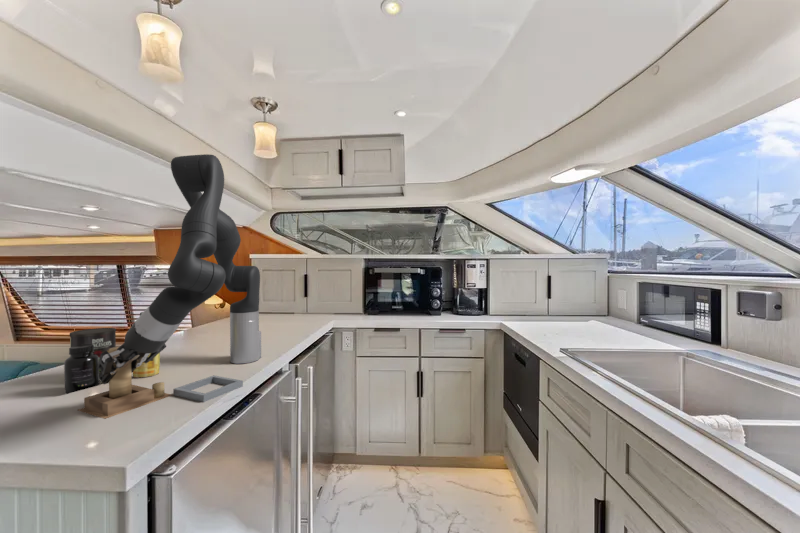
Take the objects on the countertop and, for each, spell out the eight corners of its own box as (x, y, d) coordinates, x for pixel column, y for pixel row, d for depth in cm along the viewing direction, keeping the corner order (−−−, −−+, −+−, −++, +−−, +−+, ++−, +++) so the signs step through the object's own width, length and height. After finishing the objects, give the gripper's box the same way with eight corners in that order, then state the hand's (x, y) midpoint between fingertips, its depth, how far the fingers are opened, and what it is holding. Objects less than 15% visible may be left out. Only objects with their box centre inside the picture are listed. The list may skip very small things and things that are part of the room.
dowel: (125, 399, 80) (125, 345, 80) (135, 402, 78) (135, 346, 78) (105, 406, 76) (104, 349, 76) (115, 409, 75) (114, 350, 75)
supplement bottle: (64, 390, 90) (64, 345, 90) (98, 384, 95) (98, 341, 95) (64, 397, 86) (63, 350, 86) (100, 390, 90) (99, 345, 90)
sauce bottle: (128, 384, 95) (127, 314, 95) (139, 377, 101) (138, 311, 101) (155, 382, 96) (154, 313, 96) (164, 375, 102) (163, 310, 102)
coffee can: (120, 376, 102) (120, 329, 102) (73, 386, 94) (73, 335, 94) (111, 370, 108) (110, 326, 108) (66, 378, 100) (66, 331, 100)
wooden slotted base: (146, 394, 87) (145, 377, 87) (173, 400, 83) (173, 382, 83) (77, 416, 75) (76, 396, 75) (105, 425, 70) (104, 404, 70)
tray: (213, 386, 93) (213, 375, 93) (242, 392, 89) (242, 380, 89) (173, 400, 83) (173, 388, 83) (203, 408, 79) (203, 395, 79)
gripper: (173, 310, 82) (135, 357, 85) (111, 320, 69) (68, 375, 72) (191, 333, 81) (152, 379, 84) (132, 347, 67) (87, 402, 70)
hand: (113, 377), depth 78 cm, fingers closed on dowel, 4 cm apart
